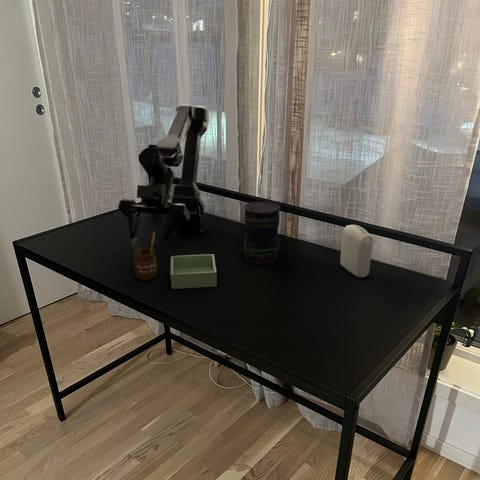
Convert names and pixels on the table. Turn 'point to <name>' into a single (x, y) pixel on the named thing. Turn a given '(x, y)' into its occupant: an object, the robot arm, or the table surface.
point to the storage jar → (261, 231)
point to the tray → (193, 271)
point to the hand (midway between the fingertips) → (147, 239)
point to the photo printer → (356, 250)
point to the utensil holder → (145, 262)
